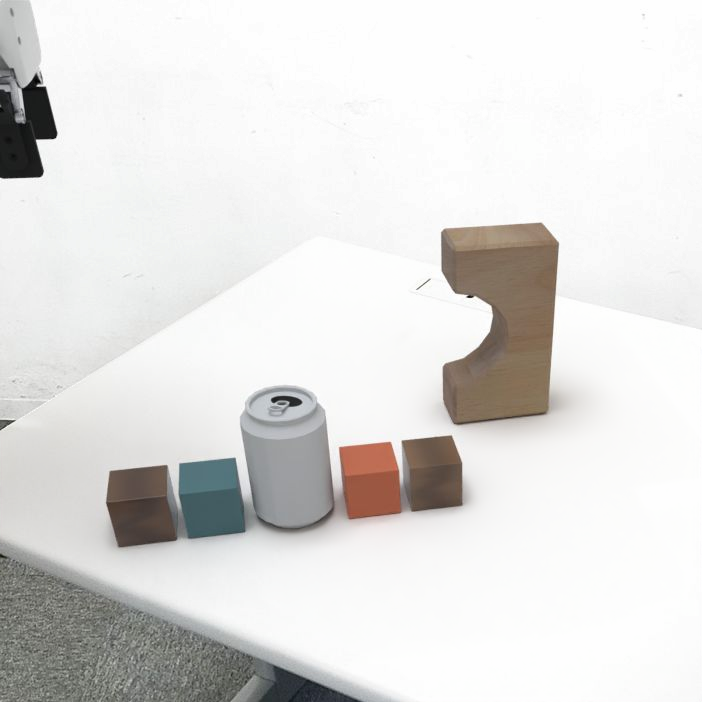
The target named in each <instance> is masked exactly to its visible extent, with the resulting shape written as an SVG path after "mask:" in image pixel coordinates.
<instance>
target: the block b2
mask: <svg viewBox="0 0 702 702" xmlns="http://www.w3.org/2000/svg"><path fill="white" fill-rule="evenodd" d="M178 498H179V503H180V507H181V511H182V517H183V520H184V524H185V529H186V534H187V538H188V539H196V538H197V539H198V538H204V537H212V536H213V537H214V536H221V535H228V534H238V533H245V532H246V525H245V509H244V499H243V492H242V486H241V480H240V476H239V469H238V464H237V458H236V457H228V458H227V457H226V458H217V459H209V460H208V459H207V460H198V461H190V462H189V461H188V462H179V465H178Z"/></svg>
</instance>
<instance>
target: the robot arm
mask: <svg viewBox="0 0 702 702" xmlns="http://www.w3.org/2000/svg"><path fill="white" fill-rule="evenodd" d="M35 19H36V18H35V15H34V10H33V8H32V3H31V0H0V179H3V180H9V179H12V180H13V179H37V178H38V179H39V178H42V177H43V176H44V172H45V169H44V165H43V162H42V157H41V153H40V150H39V146H38V142H37V141H42V140H43V141H45V140H47V141H48V140H56V139H57V137H58V134H59V133H58V129H57V125H56V121H55V116H54V113H53V108H52V105H51V101H50V97H49V93H48V88H47V86H46V85H44V77H43V73H42V70H41V68H40V65H41V63H42V50H41V43H40V38H39V33H38V28H37V25H36V20H35Z"/></svg>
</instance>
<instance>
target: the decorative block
mask: <svg viewBox="0 0 702 702" xmlns="http://www.w3.org/2000/svg"><path fill="white" fill-rule="evenodd" d="M559 250H560V242H559V240H557V239H556V237H555V236H554V235H553V233H551V231H550V230H549V229H548V228H547V226H546V225H545V224H544V223H543V222H528V223H527V222H526V223H513V224H511V223H510V224H497V225H480V226H464V227H463V226H462V227H449V228H446V227H445V228H443V230H442V231H441V232H440V257H441V259H440V260H441V263H440V264H441V265H440V266H441V269H440V270H441V273H442V275H443V276H444V278H445V279H446V282H447V284H448V285H449V287H450V288H451V290H452V291H453V293H454V294H455V295H463V296H470V297H476V298H478V299H479V300H481V301H482V302H484V303H485V304H487V305H489V306H490V307H491V312H492V313H491V314H492V318H491V323H490V329H489V331H488V333H487V335H486V336H485V337H484V339H483V340H482V342H480V344H479V345H478V346H477V347H476V348H475V349H473V350H472V351H470V352H469V353H468V354H467V355H465V356H464V357H462V358H459V359H456V360H452V361H449V362H445V364H443V366H442V401H443V402H444V405H445V408H446V410H447V411H448V413H449V417H450V418H451V420H452V422H454V423H455V424H463V423H471V422H478V421H479V422H480V421H488V420H494V419H505V418H515V417H521V416H531V415H538V414H545V413H547V411H548V410H549V400H550V385H551V369H552V357H553V356H552V355H553V342H554V327H555V312H556V311H555V310H556V294H557V279H558V267H559V266H558V265H559V252H560V251H559Z"/></svg>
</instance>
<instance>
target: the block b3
mask: <svg viewBox="0 0 702 702" xmlns="http://www.w3.org/2000/svg"><path fill="white" fill-rule="evenodd" d="M338 452H339V453H338V454H339V463H340V473H341V475H340V476H341V484H342V485H341V486H342V491H343V496H344V502H345V506H346V512H347V516H348V519H349V520H350V519H360V518H366V517H375V516H383V515H391V514H399V513H402V505H401V504H402V503H401V502H402V501H401V482H400V479H401V478H400V468H399V464H398V461H397V457H396V455H395V450H394V447H393V444H392V442H391V441H383V442H373V443H363V444H354V445H346V446H345V445H344V446H339V447H338Z"/></svg>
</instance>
